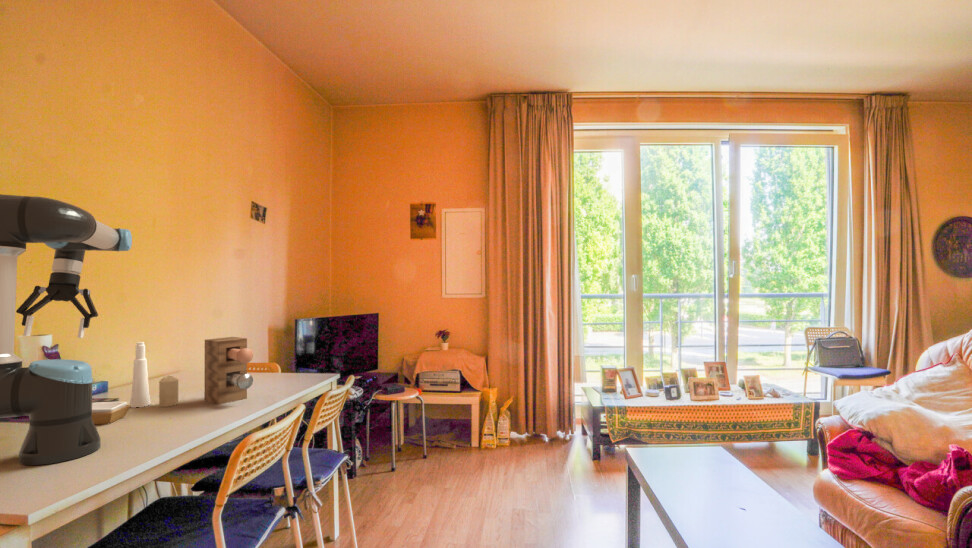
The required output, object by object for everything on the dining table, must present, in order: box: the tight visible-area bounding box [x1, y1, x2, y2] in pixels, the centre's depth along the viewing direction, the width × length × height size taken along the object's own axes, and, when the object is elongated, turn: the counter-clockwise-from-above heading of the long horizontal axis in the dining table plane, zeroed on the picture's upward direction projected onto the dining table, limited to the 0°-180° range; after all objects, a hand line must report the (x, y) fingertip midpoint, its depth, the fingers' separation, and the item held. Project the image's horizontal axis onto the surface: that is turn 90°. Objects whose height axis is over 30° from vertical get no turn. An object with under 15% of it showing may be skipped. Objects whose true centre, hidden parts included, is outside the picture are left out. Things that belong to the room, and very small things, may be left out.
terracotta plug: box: [226, 347, 254, 364], centre depth 165 cm, size 11×5×5 cm, turn 57°
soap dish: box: [92, 401, 131, 425], centre depth 144 cm, size 12×10×5 cm
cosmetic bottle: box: [129, 341, 152, 409], centre depth 161 cm, size 6×6×22 cm
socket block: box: [203, 336, 248, 405], centre depth 169 cm, size 10×10×22 cm
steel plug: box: [226, 373, 254, 390], centre depth 165 cm, size 11×5×5 cm, turn 57°
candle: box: [158, 375, 179, 408], centre depth 162 cm, size 6×6×10 cm
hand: (53, 337), depth 151 cm, fingers open, 13 cm apart
